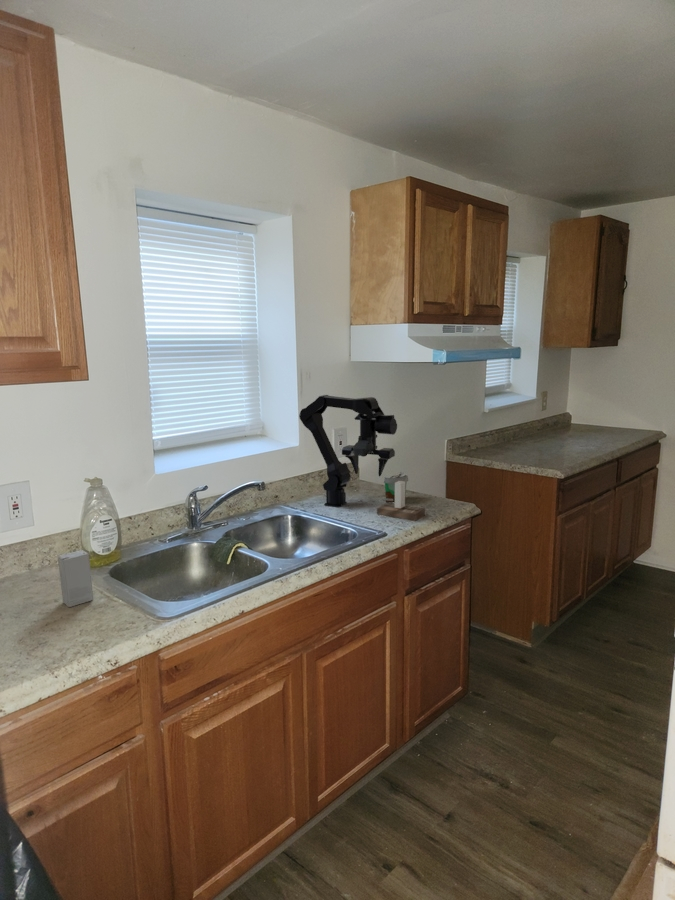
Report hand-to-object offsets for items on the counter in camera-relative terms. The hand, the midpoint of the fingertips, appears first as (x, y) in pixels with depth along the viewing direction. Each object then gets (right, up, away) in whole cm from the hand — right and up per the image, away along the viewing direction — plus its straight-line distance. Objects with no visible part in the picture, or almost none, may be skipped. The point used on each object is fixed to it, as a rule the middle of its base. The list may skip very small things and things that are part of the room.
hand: (368, 474), depth 216 cm
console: (+11, -14, -5) cm, 19 cm away
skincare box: (-74, -28, -73) cm, 107 cm away
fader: (+11, -11, -5) cm, 16 cm away
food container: (+13, -11, +14) cm, 22 cm away
